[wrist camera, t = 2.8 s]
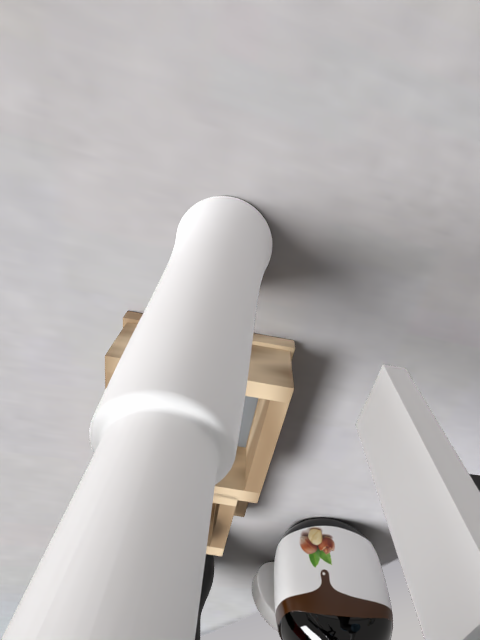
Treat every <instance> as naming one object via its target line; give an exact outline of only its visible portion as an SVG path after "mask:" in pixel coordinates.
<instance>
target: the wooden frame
mask: <svg viewBox="0 0 480 640" xmlns="http://www.w3.org/2000/svg"><path fill="white" fill-rule="evenodd" d="M142 315H143V313H137V312H132V311H127V313H126V314H125V316H124V317H123V329H122V331H121V332H120V334H119V335H118V337H117V338H116V340H115V341H114V343H113V344H112V346H111V347H110V349H109V350H108V352H107V353H106V355H105V390H106V388H107V386H108V383H109V381H110V379H111V377H112V375H113V373H114V371H115V369H116V367H117V364H118V362H119V360H120V358H121V356H122V354H123V352H124V350H125V348H126V346H127V344H128V342H129V340H130V338H131V336H132V334H133V332H134V330H135V328H136V326H137V324H138V322H139V321H140V319H141V317H142ZM294 350H295V344H294V340H288V339H283V338H277V337H272V336H266V335H260V334H255V333H253V341H252V349H251V357H250V365H249V372H248V379H247V387H246V394H245V401H244V407H243V414H242V420H241V426H240V433H239V439H238V445H237V451H236V457H235V461H234V463H233V465H232V468H231V469H230V471H229V472H228V474H227V475H226V476H225V477H224V478H223V479H222V480H221V481H220V482H218V483H217V484H216V485H215V488H214V496H213V503H212V511H211V519H210V526H209V534H208V542H207V550H206V554H209V555H216V556H222V555H223V551H224V548H225V544H226V540H227V537H228V533H229V530H230V526H231V522H232V519H233V515H234V516H241V517H244V516H245V512H246V509H247V506H248V502H253V503H257V502H258V499H259V496H260V493H261V490H262V487H263V484H264V480H265V477H266V474H267V471H268V468H269V465H270V462H271V459H272V456H273V453H274V450H275V446H276V443H277V440H278V437H279V434H280V431H281V428H282V425H283V422H284V419H285V415H286V412H287V409H288V406H289V403H290V400H291V397H292V394H293V391H294V383H293V374H292V365H291V360H292V357H293V354H294Z"/></svg>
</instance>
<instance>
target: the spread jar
mask: <svg viewBox="0 0 480 640" xmlns="http://www.w3.org/2000/svg"><path fill="white" fill-rule="evenodd" d="M252 595H253V599H254V602H255V604H256V606H257V609H258V610H259V612H260V613H261V615H262V617H263V618H264V619H265V620H266V622H267V623H268V624H269V625H270V626H271V627H272V628H274V629H275V630H276V631H278V632H279V635H280V637H281V640H391V636H392V630H393V615H392V608H391V603H390V597H389V593H388V589H387V585H386V582H385V578H384V574H383V571H382V567H381V564H380V560H379V558H378V555H377V552H376V551H375V549H374V547H373V545H372V543H371V542H370V541H369V540H368V539H367V537H366V536H365V535H363V534H362V533H361V532H360V531H358V530H357V529H355V528H354V527H352V526H350V525H348V524H346V523H344V522H341V521H339V520H335V519H330V518H314V519H309V520H305V521H303V522H300V523H298V524H296V525H295V526H293V527H292V528H290V529H289V530H288V531H287V532H286V533H285V534H284V535H283V537H282V538H281V540H280V542H279V544H278V547H277V549H276V554H275V560H274V562H267V563H265V564H263V565H262V566H261V567H260V569H259V570H258V572H257V574H256V575H255V577H254V579H253V582H252Z"/></svg>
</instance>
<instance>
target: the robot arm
mask: <svg viewBox="0 0 480 640" xmlns="http://www.w3.org/2000/svg"><path fill="white" fill-rule="evenodd" d="M356 428H357V431H358V434H359V437H360V440H361V444H362V447H363V450H364V453H365V456H366V459H367V462H368V465H369V468H370V471H371V475H372V478H373V481H374V484H375V487H376V490H377V493H378V496H379V499H380V502H381V506H382V509H383V512H384V515H385V518H386V521H387V524H388V527H389V530H390V533H391V537H392V540H393V543H394V546H395V549H396V552H397V555H398V558H399V561H400V564H401V567H402V570H403V574H404V577H405V580H406V583H407V586H408V589H409V592H410V595H411V598H412V601H413V605H414V608H415V611H416V614H417V617H418V620H419V623H420V626H421V630H422V633H423V636H424V639H425V640H480V476H479V475H472V474H469V473H468V472H467V470H466V468H465V467H464V465H463V463H462V462H461V460H460V458H459V457H458V455H457V453H456V452H455V450H454V448H453V446H452V445H451V443H450V441H449V440H448V438H447V436H446V435H445V433H444V431H443V430H442V428H441V426H440V425H439V423H438V421H437V420H436V418H435V416H434V415H433V413H432V411H431V410H430V408H429V406H428V405H427V403H426V401H425V400H424V398H423V396H422V395H421V393H420V391H419V390H418V388H417V386H416V385H415V383H414V381H413V380H412V378H411V376H410V375H409V373H408V371H407V370H406V368H402V367H396V366H390V365H384V364H383V365H382V368H381V370H380V372H379V374H378V376H377V379H376V381H375V383H374V385H373V387H372V390H371V392H370V394H369V396H368V398H367V401H366V403H365V405H364V407H363V409H362V411H361V414H360V416H359V418H358V420H357V422H356Z"/></svg>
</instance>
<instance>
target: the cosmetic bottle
mask: <svg viewBox="0 0 480 640" xmlns="http://www.w3.org/2000/svg"><path fill="white" fill-rule="evenodd" d="M271 254H272V236H271V232H270V229H269V226H268V224H267V222H266V220H265V219H264V217H263V216H262V215H261V213H260V212H259V211H258V210H257V209H255V208H254V207H253V206H252V205H250V204H249V203H247V202H245V201H243V200H241V199H238V198H235V197H230V196H215V197H210V198H207V199H204V200H202V201H200V202H198V203H197V204H195V205H194V206H192V207H191V208H190V209H189V210H188V211H187V212H186V213H185V215H184V216H183V218H182V220H181V221H180V224H179V226H178V229H177V233H176V242H175V246H174V249H173V252H172V255H171V258H170V260H169V262H168V265H167V267H166V269H165V271H164V273H163V275H162V277H161V279H160V281H159V283H158V285H157V287H156V289H155V291H154V293H153V295H152V297H151V299H150V301H149V303H148V305H147V307H146V309H145V311H144V313H143V315H142V317H141V319H140V321H139V322H138V324H137V326H136V328H135V330H134V332H133V334H132V336H131V338H130V340H129V342H128V344H127V346H126V348H125V350H124V352H123V354H122V356H121V358H120V360H119V362H118V364H117V367H116V369H115V371H114V373H113V375H112V377H111V379H110V381H109V383H108V386H107V388H106V390H105V392H104V394H103V396H102V398H101V400H100V403H99V405H98V407H97V409H96V411H95V413H94V416H93V418H92V421H91V424H90V429H89V439H90V445H91V448H92V451H93V453H94V455H93V457H92V459H91V461H90V463H89V465H88V467H87V469H86V471H85V473H84V475H83V477H82V479H81V481H80V483H79V485H78V487H77V489H76V491H75V493H74V495H73V497H72V499H71V501H70V503H69V505H68V507H67V509H66V511H65V513H64V515H63V517H62V519H61V521H60V523H59V525H58V527H57V529H56V531H55V533H54V535H53V537H52V539H51V541H50V543H49V545H48V547H47V549H46V551H45V553H44V555H43V557H42V559H41V561H40V563H39V565H38V567H37V569H36V571H35V573H34V575H33V577H32V579H31V581H30V583H29V585H28V587H27V589H26V591H25V593H24V595H23V597H22V599H21V601H20V603H19V605H18V607H17V609H16V611H15V613H14V615H13V617H12V619H11V621H10V623H9V625H8V627H7V629H6V631H5V633H4V635H3V637H2V639H1V640H195V634H196V627H197V619H198V611H199V603H200V596H201V588H202V580H203V573H204V565H205V557H206V550H207V542H208V534H209V526H210V519H211V511H212V503H213V496H214V488H215V485H216V484H217V483H218V482H220V481H221V480H222V479H223V478H224V477H225V476H226V475H227V474H228V472H229V471H230V469H231V468H232V465H233V463H234V461H235V457H236V451H237V445H238V439H239V433H240V426H241V420H242V414H243V407H244V401H245V394H246V387H247V379H248V372H249V365H250V357H251V349H252V341H253V333H254V325H255V317H256V310H257V303H258V296H259V291H260V286H261V281H262V278H263V274H264V272H265V270H266V268H267V266H268V264H269V261H270V258H271Z"/></svg>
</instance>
